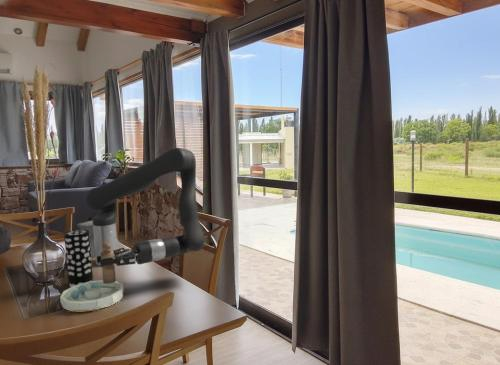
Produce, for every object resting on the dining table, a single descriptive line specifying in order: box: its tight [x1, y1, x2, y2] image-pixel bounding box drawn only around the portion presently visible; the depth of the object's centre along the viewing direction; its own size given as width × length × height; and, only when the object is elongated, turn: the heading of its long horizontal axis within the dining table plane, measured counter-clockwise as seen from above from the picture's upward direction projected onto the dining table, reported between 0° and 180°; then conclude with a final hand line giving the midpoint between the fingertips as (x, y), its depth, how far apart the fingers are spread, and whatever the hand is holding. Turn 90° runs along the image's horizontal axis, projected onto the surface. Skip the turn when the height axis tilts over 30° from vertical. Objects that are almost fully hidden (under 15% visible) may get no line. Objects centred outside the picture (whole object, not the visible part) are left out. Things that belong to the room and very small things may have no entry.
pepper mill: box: [101, 242, 117, 284], centre depth 130 cm, size 4×4×13 cm
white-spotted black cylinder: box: [63, 229, 94, 289], centre depth 144 cm, size 8×8×20 cm
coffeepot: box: [76, 216, 96, 259], centre depth 182 cm, size 15×9×18 cm, turn 87°
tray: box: [59, 279, 124, 311], centre depth 131 cm, size 19×19×4 cm
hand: (99, 261), depth 129 cm, fingers closed on pepper mill, 4 cm apart
